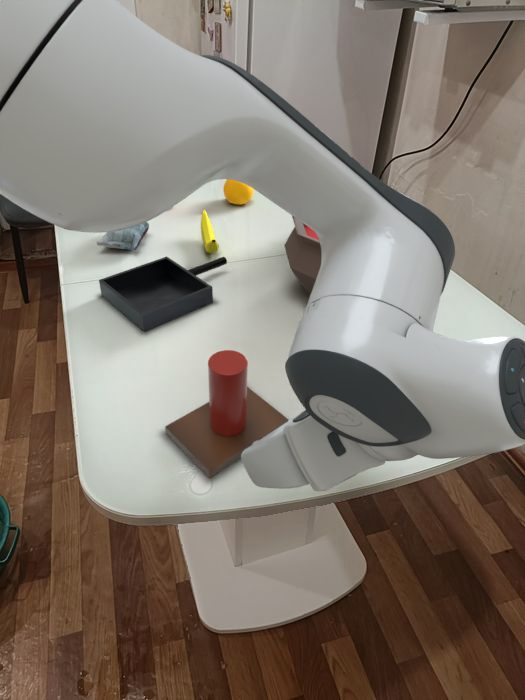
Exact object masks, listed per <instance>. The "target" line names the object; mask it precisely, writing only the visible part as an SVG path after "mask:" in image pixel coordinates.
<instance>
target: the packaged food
mask: <svg viewBox="0 0 525 700" xmlns="http://www.w3.org/2000/svg"><path fill="white" fill-rule="evenodd" d="M149 228H150V224H149V221H147V222H145V223H142V224H140V225H137V226H134V227H131V228H128V229H124V230H119V231H113V232H105V234H104V235H103V236H102V238H101V239H100V240H99V242H98V241H97V242H96V245H97V246H99V247H105V248H110V249H117V250H118V249H119V250H127V251H128V250H129V251H136V250H138V247H139V246H140V244H141V241H143V239H144V237H145V236H146V234H147V233H148V231H149Z"/></svg>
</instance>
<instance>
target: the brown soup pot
mask: <svg viewBox="0 0 525 700" xmlns="http://www.w3.org/2000/svg"><path fill="white" fill-rule="evenodd" d="M291 218H292V221H293V224H294V227H293V229H292V231H291V233H290V235H289V236H288V238H287V239H286V241H285V243H284V249H285V254H286V257H287V261H288V266H289V269H290V270H291V272H292V273H293V275H294V276H295V277H296V279H297V280H298V282H299V283H300V284H301V286H302V287H303V289H304V290H305V291H306V293H307V295H309V296H310V295H311V292H312V290H313V287H314V284H315V281H316V278H317V276H318V273H319V270H320V267H321V260H322V254H321V245H320V241H319V238H318V236H317V234H316V233H315V232H314V231H313V230H312V229H311V228H309V227H308V226H307V225H305V224H304V223H302V222H301V221H299V220H298V219H296V218H295V217H294V216H292V215H291Z"/></svg>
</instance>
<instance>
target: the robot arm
mask: <svg viewBox="0 0 525 700" xmlns="http://www.w3.org/2000/svg"><path fill="white" fill-rule="evenodd" d="M227 179H231V180H235V181H239V182H242V183H244V184H246V185H248V186H250V187H252V188H253V189H254V191H255V192H257V193H259V194H260V195H262V196H263V197H264V198H266V199H267V200H269V201H270V202H272V203H273V204H275V206H277V207H279V208H280V209H281V210H284V211H285V212H286V213H288V214H289V215H291V217H292V216H294V217H295V218H296V219H298V220H299V221H301V222H302V223H304V224H305V225H307V226H308V227H309V228H311V229H312V230H313V231H314V232H315V233H316V234H317V236H318V238H319V241H320V245H321V254H322V260H321V267H320V270H319V273H318V276H317V278H316V281H315V284H314V287H313V290H312V292H311V295H309V298H308V302H307V304H306V306H305V308H304V309H303V311H302V315H301V318H300V321H299V323H298V326H297V329H296V332H295V334H294V337H293V341H292V343H291V346H290V349H289V352H288V353H289V354H288V356H287V359H286V361H285V365H284V369H285V374H286V377H287V380H288V382H289V385H290V387H291V389H292V391H293V392H294V395H295V396H296V398H297V399H298V401H299V402H300V404H301V405H302V406H303V408H304V409H305V410H303V411H302V412H300V413H298V414H297V415H296V416H294V417H292V418H290V419H288V422H286V423H285V424H283V425H282V426H280V427H279V428H277V429H276V430H274V431H273V432H271V433H270V434H268V435H267V436H265V437H264V436H263V437H261V438H260V439H258V440H256V441H255V442H253V444H252V445H251V446H250V447H248V448H246V449H245V450H244V451H243V452H242V454H241V458H240V460H241V462H242V465H243V467H244V469H245V471H246V473H247V475H248V477H249V478H250V481H251V482H252V483H253V484H254V485H255V486H256V487H258V488H263V489H264V488H265V489H281V490H282V489H286V490H287V489H289V490H290V489H297V488H302V487H305V486H307V485H310V487H311V488H312V490H313V491H315V492H326V491H329V490H331V489H333V488H334V487H337V486H338V485H340V484H342V483H344V482H346V481H348V480H349V479H351V478H353V477H355V476H357V475H358V474H360V473H362V472H365V471H367V470H371V469H372V468H377V467H379V466H383V465H385V464H386V462H400V461H407V460H410V459H412V458H415V457H417V456H421V457H424V458H428V459H432V460H433V459H434V460H445V459H458V458H459V459H460V458H468V457H469V458H470V457H478V456H484V455H489V454H496V453H501V452H505V451H508V450H512V449H515V448H518V447H521V446H524V445H525V341H524V340H523V339H522V338H520V337H518V336H513V335H511V336H509V335H500V336H499V335H498V336H488V337H481V338H473V339H468V340H467V339H466V340H465V339H457V338H453V337H449V336H445V335H442V334H439V333H437V332H434V329H435V323H436V318H437V314H438V310H439V307H440V301H441V297H442V295H443V293H444V291H445V288H446V285H447V283H448V282H447V281H448V278H449V275H450V273H451V270H452V266H453V263H454V261H455V256H456V247H455V241H454V238H453V235H452V233H451V231H450V230H449V228H448V226H447V225H446V224H445V223H444V221H443V220H442V219H441V218H440V217H439V216H438V215H437V214H436V213H434V211H432V210H431V209H430V208H428V207H427V206H426V205H424V204H423V203H421V202H419V201H417V200H415V199H413V198H411V197H409V196H407V195H405V194H404V193H401V192H400V191H398V190H397V189H394V187H391V186H390V185H388V184H386V183H385V182H384V181H382V180H381V179H379V178H378V177H376V176H375V174H373V173H372V172H370V171H369V169H367V168H366V167H365V166H363V164H361V163H360V162H359V161H357V160H356V159H355V158H354V157H353V156H352V155H350V154H349V153H348V152H347V151H346V150H344V148H342V146H340V145H339V144H338V143H336V142H335V141H334V140H333V139H332V138H331V137H329V136H328V135H327V134H326V133H325V132H324V131H323V130H321V129H320V128H319V127H318V126H316V124H314V122H312V121H311V120H309V119H308V118H307V117H306V116H305V115H303V114H302V113H301V112H300V111H299V110H298V109H296V107H294V106H293V105H292V104H290V103H289V102H288V101H287V100H286V99H285V98H283V97H282V96H281V95H279V94H278V93H277V92H276V91H274V90H273V89H272V88H271V87H270V86H268V85H267V84H266V83H264V82H263V81H261V79H259V78H258V77H256V76H255V75H253V74H252V73H251V72H249V71H248V70H246V69H245V68H243V67H241V66H239V65H238V64H236V63H234V62H232V61H229V60H227V59H226V58H223V57H221V56H216V55H212V54H201V55H199V54H197V53H194V52H192V51H190V50H188V49H186V48H184V47H182V46H180V45H178V44H177V43H175V42H173V41H172V40H170V39H169V38H167V37H166V36H164V35H162V34H161V33H159V32H158V31H156V29H154V28H153V27H151V26H149V25H148V24H146V23H145V22H144V21H143V20H141V19H140V18H138V16H136V14H134V13H132V12H131V11H130V10H129V9H128V8H127V7H125V6H124V5H123V4H122V3H121V2H120V1H119V0H0V195H1V196H3V197H4V198H6V199H7V200H9V201H10V202H11V203H13V204H15V205H17V206H18V207H19V208H21V209H22V210H25V211H26V212H28V213H30V214H32V215H33V216H36V217H38V218H39V219H41V220H43V221H45V222H47V223H49V224H52V225H54V226H56V227H59V228H61V229H64V230H67V231H72V232H78V233H93V234H98V233H99V234H100V233H107V232H113V231H119V230H124V229H128V228H131V227H134V226H137V225H140V224H142V223H145V222H149V221H152V220H153V219H155V218H157V217H159V216H161V215H162V214H164V213H165V212H167V211H168V210H170V209H172V208H173V207H174V206H176V205H177V204H179V203H180V202H182V201H183V200H185V199H187V198H188V197H190V196H191V195H192V194H193V193H195V192H196V191H198V190H199V189H201V188H202V187H203V186H205V185H207V184H209V183H211V182H214V181H217V180H227Z"/></svg>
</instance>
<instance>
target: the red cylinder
mask: <svg viewBox="0 0 525 700" xmlns="http://www.w3.org/2000/svg"><path fill="white" fill-rule="evenodd" d="M248 363H249V361H248V358H247V357H246V356H245V355H244V354H243V353H242V352H239V351H237V350H231V349H224V350H223V349H222V350H220V351H217V352H215V353H213V354H212V355H210V357H209V358H208V360H207V376H208V402H209V405H210V425H211V428H212V429H213V431H214V432H216V433H217V434H219V435H223V436H233V435H236V434H238V433H240V432H241V431H243V429H244V428H245V426H246V408H247V387H248V371H249V370H248V369H249V367H248V365H249V364H248Z"/></svg>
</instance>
